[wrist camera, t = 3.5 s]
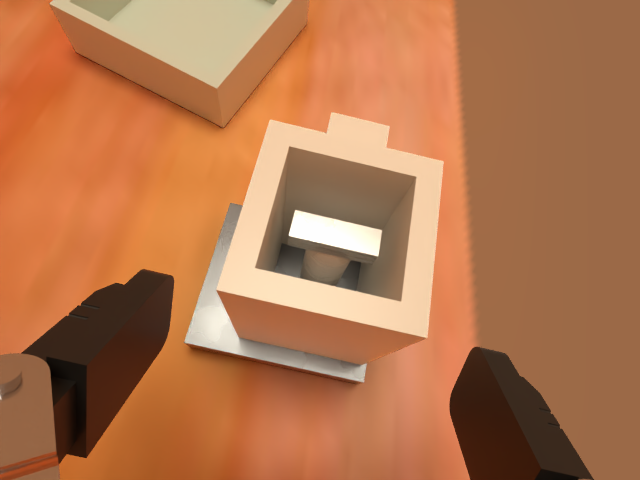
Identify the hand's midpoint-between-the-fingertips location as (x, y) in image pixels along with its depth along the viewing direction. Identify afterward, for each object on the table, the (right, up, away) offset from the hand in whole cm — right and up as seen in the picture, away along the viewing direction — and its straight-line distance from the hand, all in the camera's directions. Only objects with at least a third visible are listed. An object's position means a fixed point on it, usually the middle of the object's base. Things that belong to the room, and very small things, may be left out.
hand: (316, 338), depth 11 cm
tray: (-8, +16, +15) cm, 23 cm away
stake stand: (-1, 0, +10) cm, 10 cm away
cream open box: (0, 0, +8) cm, 8 cm away
